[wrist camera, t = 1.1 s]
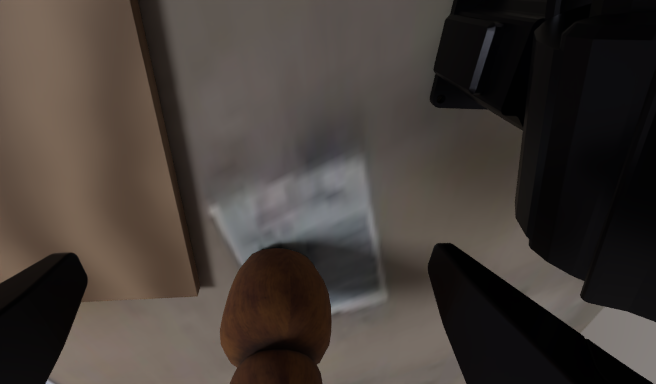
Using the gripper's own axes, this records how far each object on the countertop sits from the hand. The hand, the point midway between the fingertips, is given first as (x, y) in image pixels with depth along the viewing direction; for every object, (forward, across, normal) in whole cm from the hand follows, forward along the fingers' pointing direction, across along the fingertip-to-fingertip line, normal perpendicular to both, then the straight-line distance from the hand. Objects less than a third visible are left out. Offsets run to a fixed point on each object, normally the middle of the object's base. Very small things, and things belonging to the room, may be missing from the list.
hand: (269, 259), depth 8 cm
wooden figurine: (+12, 0, +12) cm, 17 cm away
